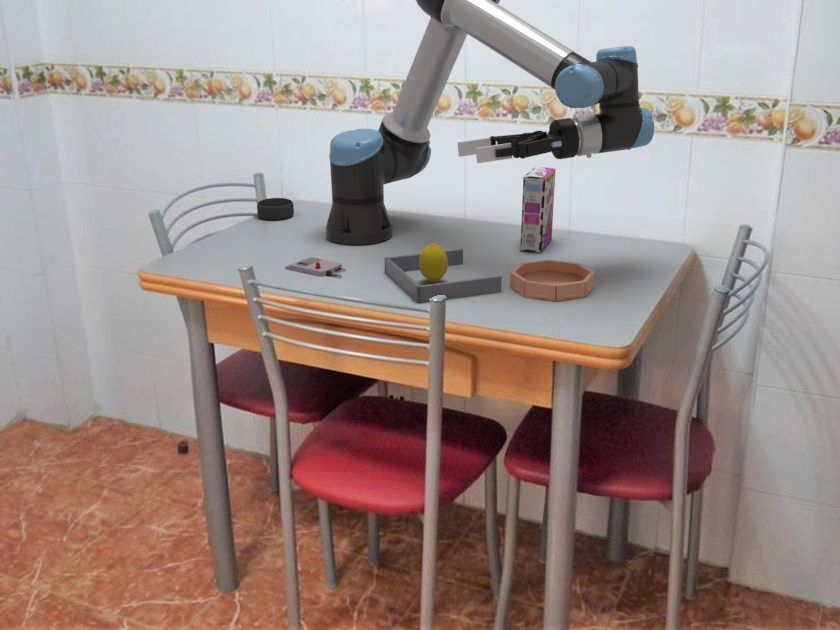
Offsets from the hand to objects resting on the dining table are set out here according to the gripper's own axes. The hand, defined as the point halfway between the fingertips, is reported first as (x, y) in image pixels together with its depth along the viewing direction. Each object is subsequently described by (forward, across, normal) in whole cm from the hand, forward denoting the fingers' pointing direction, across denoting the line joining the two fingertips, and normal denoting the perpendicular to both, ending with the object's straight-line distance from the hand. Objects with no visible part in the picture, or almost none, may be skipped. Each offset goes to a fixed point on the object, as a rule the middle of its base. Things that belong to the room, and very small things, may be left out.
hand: (467, 152), depth 175 cm
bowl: (-12, -7, -27) cm, 30 cm away
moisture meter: (+30, +15, -22) cm, 40 cm away
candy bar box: (-18, +20, -25) cm, 37 cm away
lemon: (+9, +1, -24) cm, 26 cm away
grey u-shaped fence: (+7, +1, -24) cm, 25 cm away
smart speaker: (+35, +59, -16) cm, 71 cm away
